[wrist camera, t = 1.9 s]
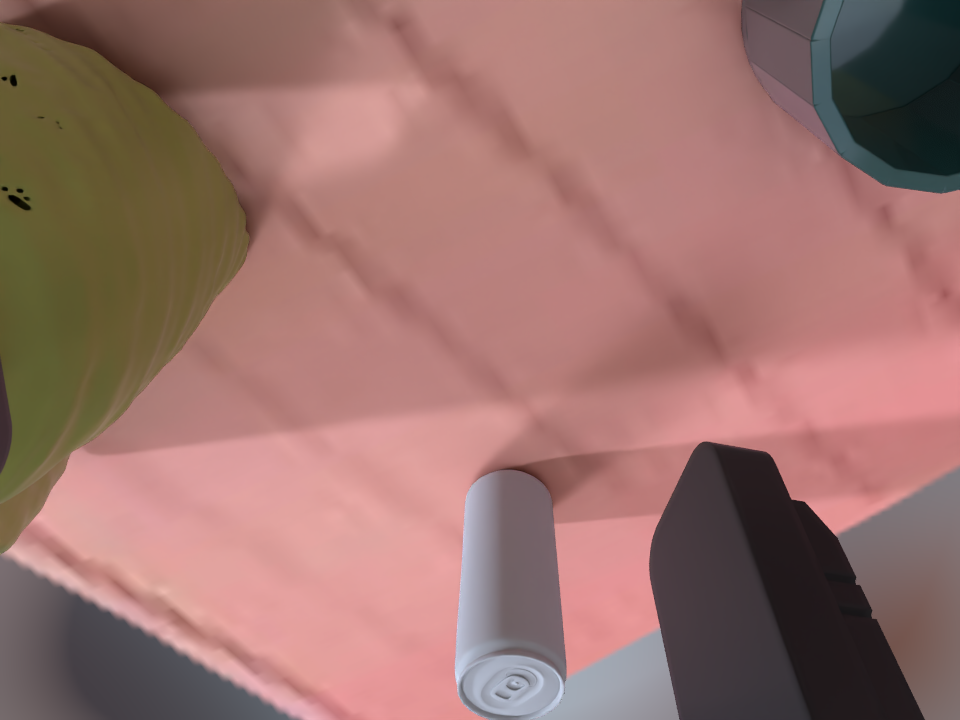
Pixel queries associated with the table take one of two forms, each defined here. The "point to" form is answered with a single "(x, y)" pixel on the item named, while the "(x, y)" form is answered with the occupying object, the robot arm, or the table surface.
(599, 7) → the table surface
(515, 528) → the beverage can
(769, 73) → the cup
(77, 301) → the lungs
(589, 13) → the table surface
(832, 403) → the table surface
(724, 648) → the robot arm
